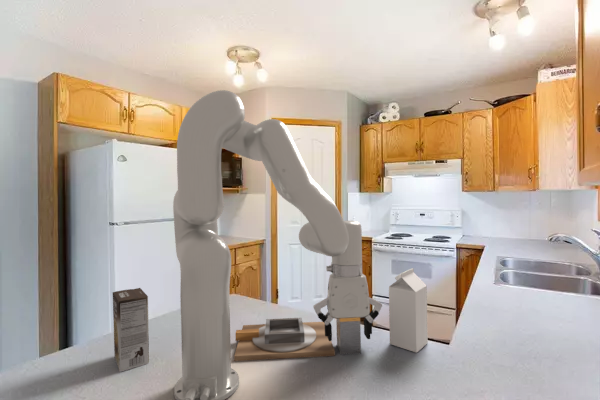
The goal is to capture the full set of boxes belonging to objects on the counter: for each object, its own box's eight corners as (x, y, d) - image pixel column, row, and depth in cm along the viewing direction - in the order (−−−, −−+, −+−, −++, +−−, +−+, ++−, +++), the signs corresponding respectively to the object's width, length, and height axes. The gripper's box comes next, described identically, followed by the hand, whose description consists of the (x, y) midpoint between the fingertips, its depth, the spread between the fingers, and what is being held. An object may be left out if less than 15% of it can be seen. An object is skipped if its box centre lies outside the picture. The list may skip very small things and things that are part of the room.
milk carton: (427, 343, 81) (426, 270, 81) (416, 353, 76) (415, 275, 76) (401, 335, 86) (400, 266, 86) (389, 344, 80) (388, 271, 80)
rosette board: (334, 355, 75) (334, 338, 75) (231, 361, 74) (230, 343, 74) (324, 325, 93) (324, 311, 93) (240, 329, 92) (240, 315, 92)
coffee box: (113, 357, 77) (111, 291, 77) (142, 349, 81) (140, 286, 81) (118, 373, 70) (117, 300, 69) (150, 363, 73) (148, 295, 73)
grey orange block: (360, 353, 76) (360, 316, 76) (340, 354, 76) (339, 317, 76) (355, 344, 81) (355, 309, 81) (336, 345, 81) (336, 310, 81)
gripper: (314, 274, 74) (315, 346, 74) (385, 272, 75) (387, 343, 75) (311, 267, 82) (312, 333, 82) (376, 265, 83) (377, 329, 83)
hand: (348, 337), depth 79 cm, fingers open, 9 cm apart
